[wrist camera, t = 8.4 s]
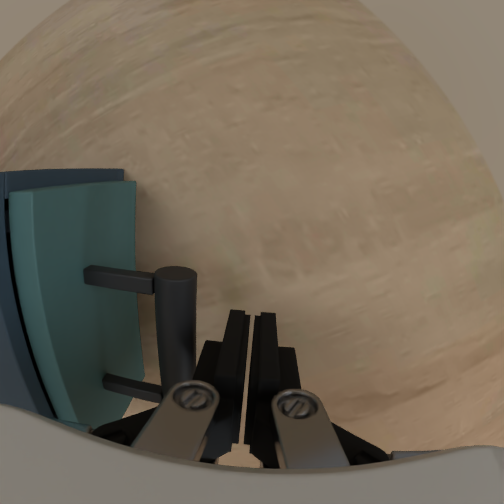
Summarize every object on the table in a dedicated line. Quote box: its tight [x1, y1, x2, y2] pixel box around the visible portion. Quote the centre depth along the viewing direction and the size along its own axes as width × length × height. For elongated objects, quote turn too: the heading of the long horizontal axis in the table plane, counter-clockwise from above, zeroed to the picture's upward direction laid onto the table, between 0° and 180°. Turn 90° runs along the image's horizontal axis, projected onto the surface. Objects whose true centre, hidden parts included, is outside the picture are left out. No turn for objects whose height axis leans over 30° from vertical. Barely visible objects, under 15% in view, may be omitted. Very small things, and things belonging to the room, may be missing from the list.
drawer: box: [4, 181, 197, 429], centre depth 11 cm, size 17×11×7 cm
